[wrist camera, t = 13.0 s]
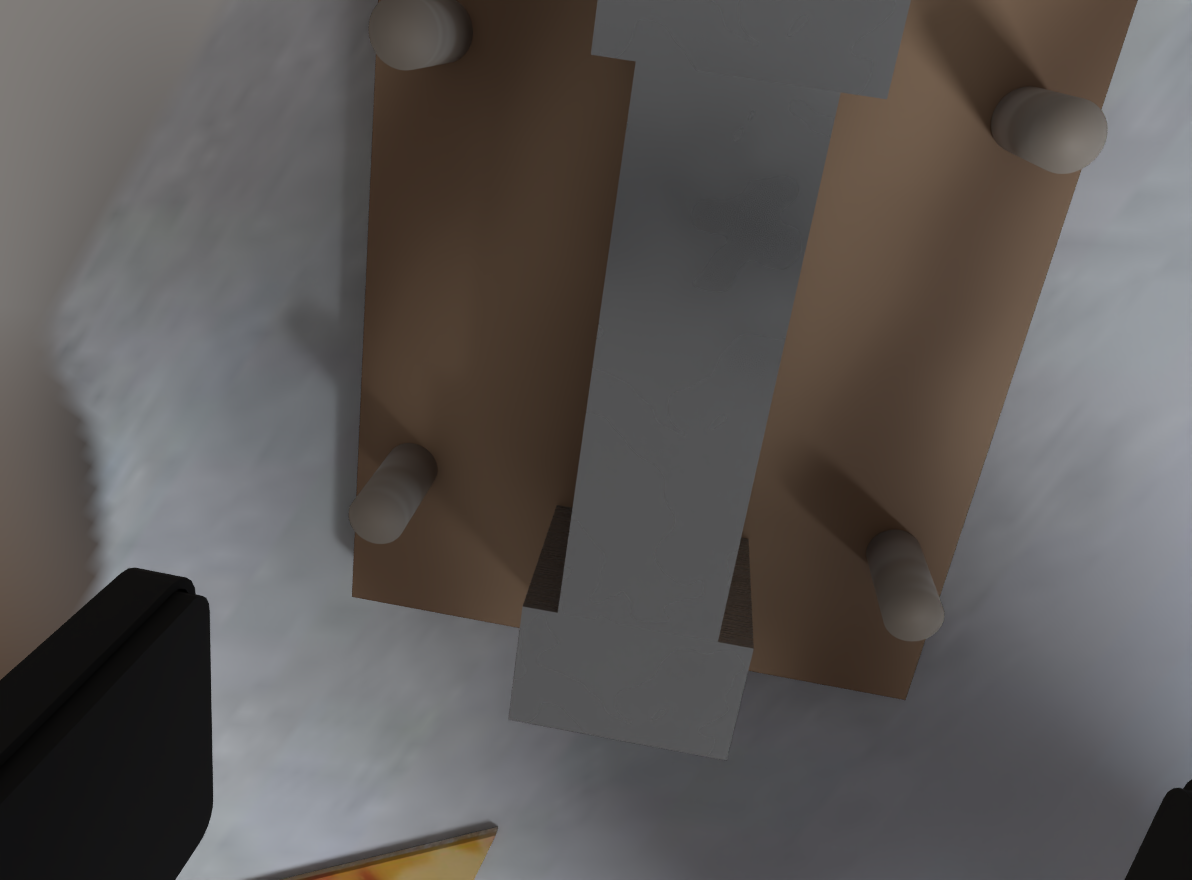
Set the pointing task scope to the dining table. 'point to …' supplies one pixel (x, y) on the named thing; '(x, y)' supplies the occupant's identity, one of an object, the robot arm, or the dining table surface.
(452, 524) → the peg rack
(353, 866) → the pizza slice
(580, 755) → the dining table surface
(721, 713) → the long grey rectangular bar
